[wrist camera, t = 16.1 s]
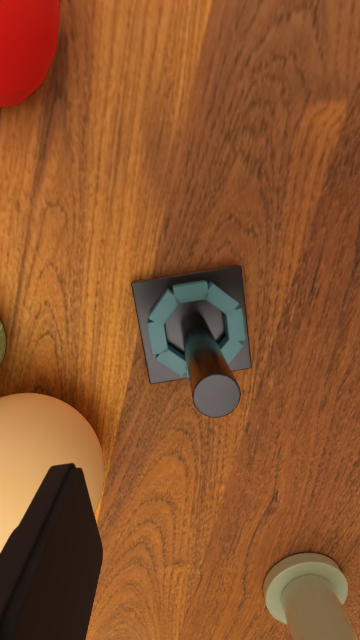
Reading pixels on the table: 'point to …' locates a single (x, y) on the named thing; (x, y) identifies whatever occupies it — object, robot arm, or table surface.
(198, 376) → the black peg stand
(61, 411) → the sculpture
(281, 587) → the ring stand
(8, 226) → the table surface
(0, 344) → the ramekin
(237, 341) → the ring
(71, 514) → the robot arm
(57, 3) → the tomato
